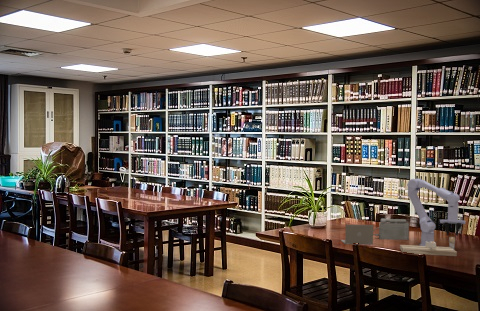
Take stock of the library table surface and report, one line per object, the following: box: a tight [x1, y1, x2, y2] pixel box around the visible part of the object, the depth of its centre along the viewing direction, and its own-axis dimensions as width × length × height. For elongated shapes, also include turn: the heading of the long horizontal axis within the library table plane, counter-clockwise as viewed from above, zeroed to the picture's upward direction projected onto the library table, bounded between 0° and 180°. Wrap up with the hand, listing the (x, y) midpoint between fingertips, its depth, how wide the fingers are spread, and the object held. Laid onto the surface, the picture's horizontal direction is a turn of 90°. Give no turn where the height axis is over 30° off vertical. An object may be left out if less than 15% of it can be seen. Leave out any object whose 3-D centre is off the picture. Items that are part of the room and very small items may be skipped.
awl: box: [448, 236, 456, 250], centre depth 315 cm, size 3×3×8 cm
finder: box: [426, 240, 437, 248], centre depth 310 cm, size 5×5×3 cm
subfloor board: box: [399, 244, 458, 257], centre depth 307 cm, size 13×30×3 cm, turn 82°
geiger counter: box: [373, 218, 410, 241], centre depth 347 cm, size 14×6×25 cm
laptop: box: [340, 224, 374, 245], centre depth 334 cm, size 18×12×13 cm
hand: (452, 235), depth 314 cm, fingers open, 5 cm apart
